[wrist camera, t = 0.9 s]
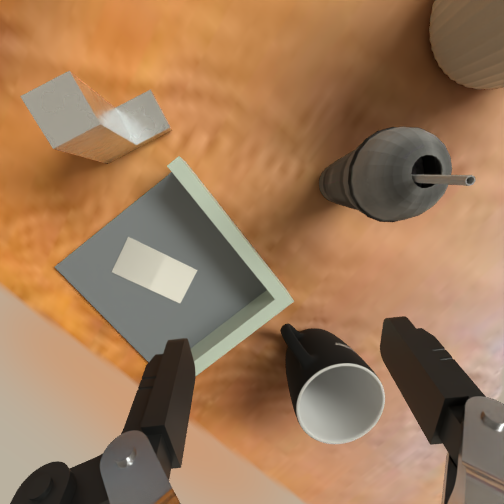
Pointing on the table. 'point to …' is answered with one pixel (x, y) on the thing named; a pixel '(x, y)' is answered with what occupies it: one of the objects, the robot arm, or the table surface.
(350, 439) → the mug
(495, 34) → the canister
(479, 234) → the table surface
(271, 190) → the table surface
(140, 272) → the mat
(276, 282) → the corner walls
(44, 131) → the bracket
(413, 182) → the beverage cup
